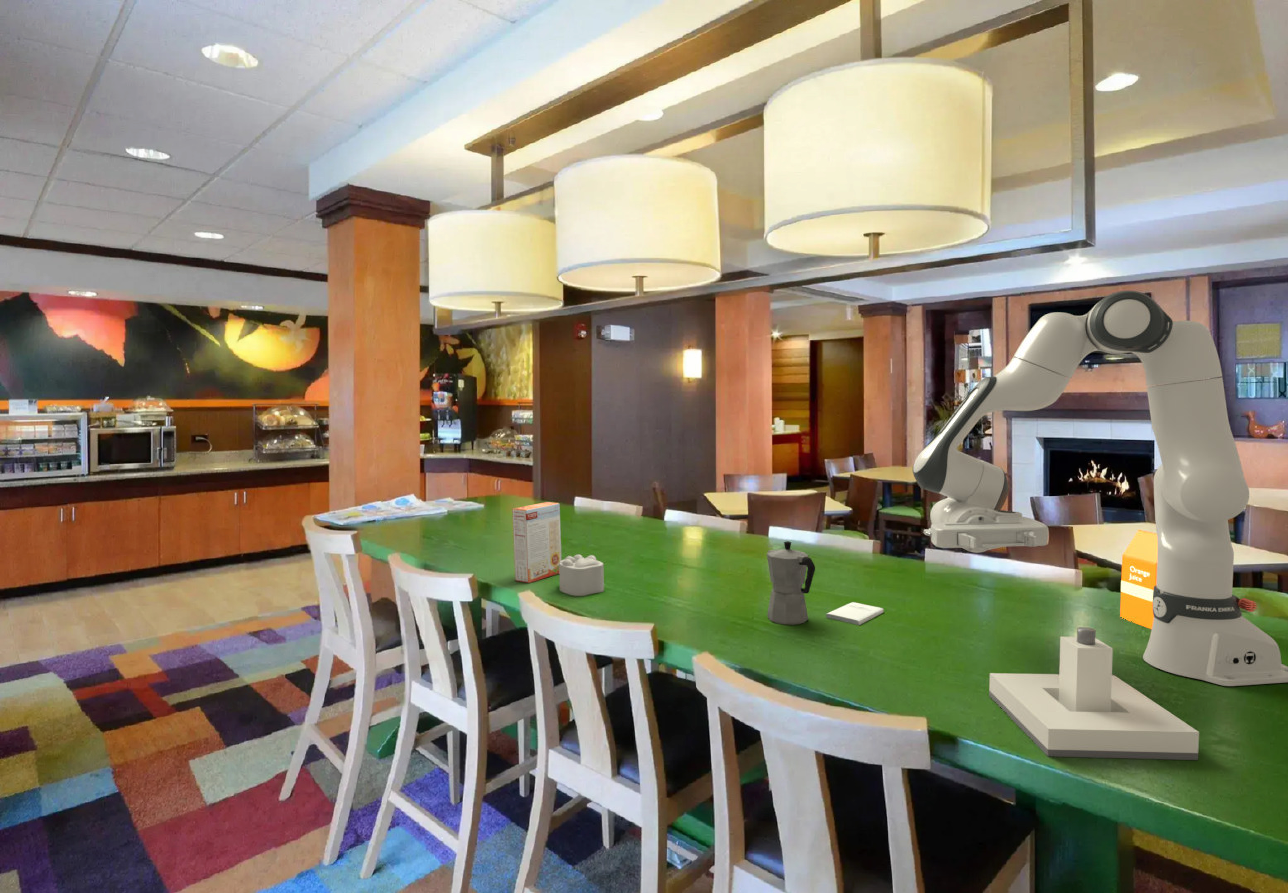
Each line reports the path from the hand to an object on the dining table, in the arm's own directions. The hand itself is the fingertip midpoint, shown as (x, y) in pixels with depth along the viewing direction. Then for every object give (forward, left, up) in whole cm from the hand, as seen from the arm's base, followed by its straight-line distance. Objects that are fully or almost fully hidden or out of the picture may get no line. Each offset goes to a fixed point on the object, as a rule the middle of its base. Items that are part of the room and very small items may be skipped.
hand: (1005, 542), depth 125 cm
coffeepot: (+34, -32, -25) cm, 52 cm away
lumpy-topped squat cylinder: (+87, -57, -25) cm, 106 cm away
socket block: (-4, +18, -25) cm, 31 cm away
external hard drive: (+18, -36, -25) cm, 48 cm away
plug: (-4, +18, -24) cm, 30 cm away
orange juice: (-45, -33, -25) cm, 61 cm away
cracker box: (+101, -69, -25) cm, 124 cm away
